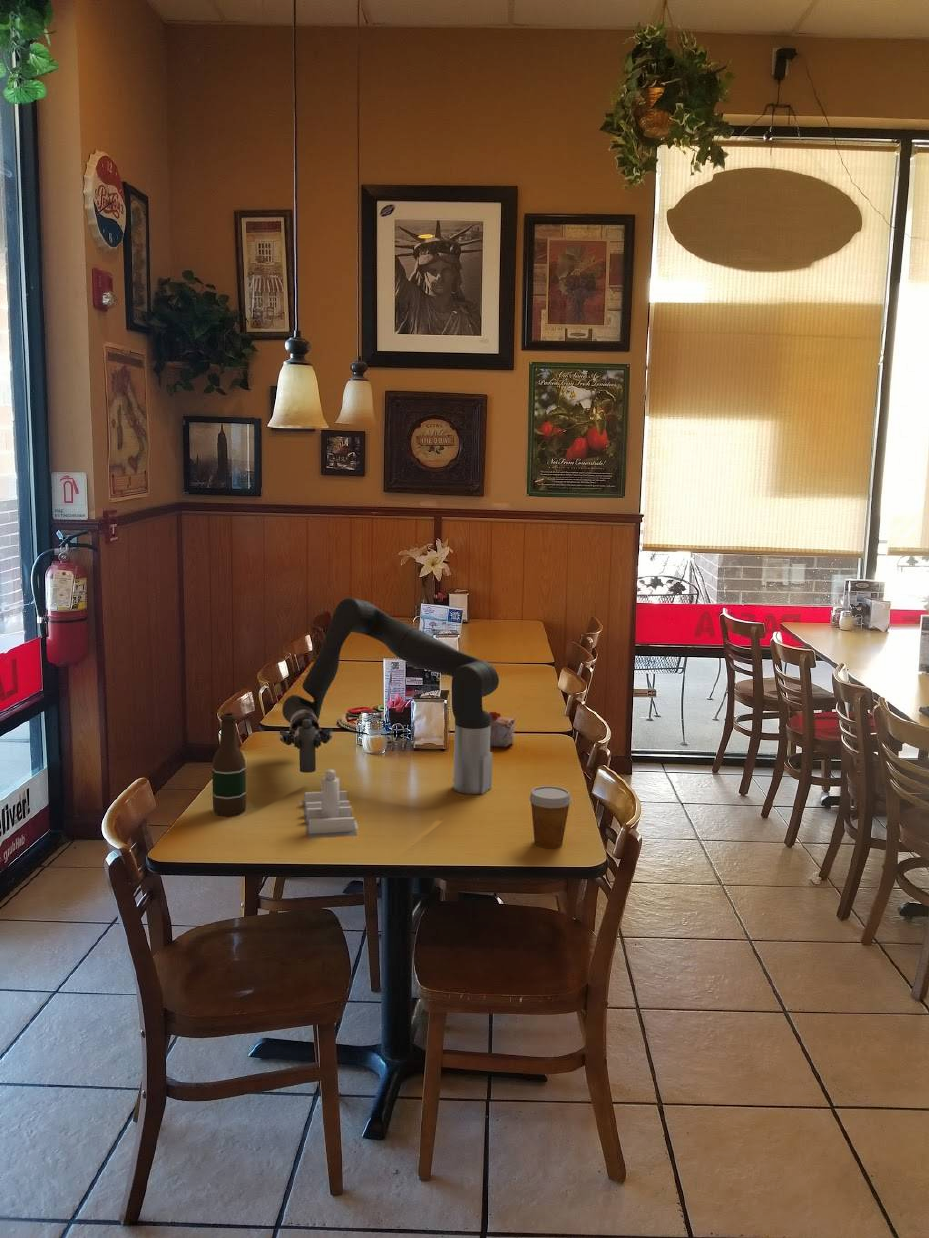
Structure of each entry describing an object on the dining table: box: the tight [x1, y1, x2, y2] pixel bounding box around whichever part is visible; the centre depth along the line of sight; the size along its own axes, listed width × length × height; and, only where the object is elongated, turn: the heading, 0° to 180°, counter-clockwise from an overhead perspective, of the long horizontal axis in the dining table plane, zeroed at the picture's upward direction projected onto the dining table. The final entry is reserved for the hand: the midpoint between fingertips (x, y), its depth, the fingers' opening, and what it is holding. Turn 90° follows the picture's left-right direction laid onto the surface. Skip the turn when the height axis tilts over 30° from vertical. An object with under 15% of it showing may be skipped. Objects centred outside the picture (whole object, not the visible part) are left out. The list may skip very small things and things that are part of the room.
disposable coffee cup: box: [528, 785, 573, 849], centre depth 229 cm, size 10×10×12 cm
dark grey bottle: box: [298, 719, 317, 774], centre depth 257 cm, size 4×4×13 cm
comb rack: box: [301, 790, 359, 839], centre depth 238 cm, size 24×12×4 cm, turn 12°
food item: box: [488, 711, 516, 748], centre depth 304 cm, size 14×8×10 cm, turn 71°
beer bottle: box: [211, 712, 247, 818], centre depth 242 cm, size 8×8×24 cm
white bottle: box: [320, 768, 340, 819], centre depth 232 cm, size 4×4×13 cm
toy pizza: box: [337, 704, 384, 733], centre depth 325 cm, size 28×28×4 cm
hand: (307, 744), depth 254 cm, fingers closed on dark grey bottle, 4 cm apart
